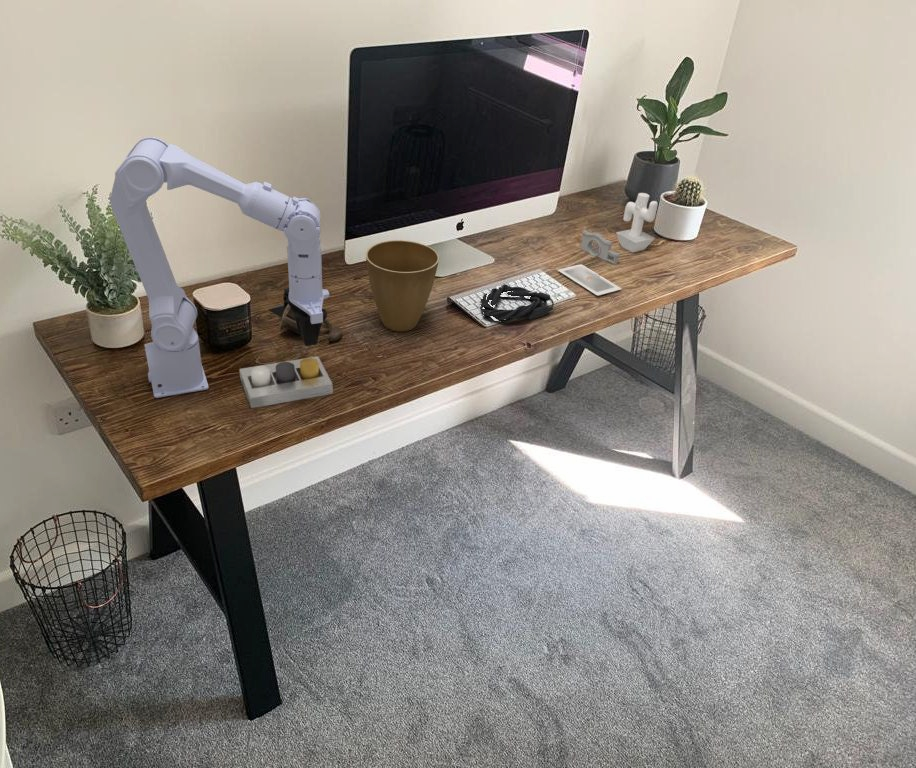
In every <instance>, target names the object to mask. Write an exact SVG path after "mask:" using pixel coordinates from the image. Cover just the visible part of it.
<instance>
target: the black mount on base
mask: <svg viewBox="0 0 916 768" xmlns="http://www.w3.org/2000/svg"><path fill="white" fill-rule="evenodd" d="M283 291H284V293H283V294H282V296H283V298H282V299H283V303H281V304H279V305H276V306H273V307H270V308H269V309H267V310H268V311H269V312H271V313H273V314H275V315H276V316H278V317H280V318H281V319H282V314H283V311H284V310H285V308H286V306H287V304H288V302H287V298H289V296H288V295H289V287H287V288H285V289H283Z"/></svg>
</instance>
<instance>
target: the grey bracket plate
mask: <svg viewBox="0 0 916 768" xmlns="http://www.w3.org/2000/svg"><path fill="white" fill-rule="evenodd" d="M581 234H582V239H581V244H580V250H582V251H583V252H586V253H588V254H589V255H590V256H593V257H597V258H599V259H601V260H603V261H605V262H608V263H610V264H612V265H614V266H615V265H618V262H619V258H620V257H619V256H621V253H618V252H616V251H614V250H613V249H612V245H613V243H614V242H612V241H610V240H607V239H606V238H605V237H604V236H603V234H601V233H600V232H589V231H587V230H585V229H583V230H582V231H581Z"/></svg>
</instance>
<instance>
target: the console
mask: <svg viewBox="0 0 916 768" xmlns="http://www.w3.org/2000/svg"><path fill="white" fill-rule="evenodd" d="M309 358H314V359H316V360H317V361H318V365H319V377H317V378H311V379H305V380H302V379H301V377H300V361H301V360H303V359H305V357H304V358H300V359H293V360H287V361H285V362H290V363H292V364H294V367H295V381H294V382H288V383H282V384H278V383H277V380H276V365H277V364H279V363H281V362H282V361H281V362H273V363H268V364H262V365H260V366H266V367H268V368H269V369H270V377H271V385H270V386H265V387H259V388H253V387H252V379H251V370H252V368H254V367H257V366H258V365H256V366H249V367H243V368H239V377H240V378H239V379H240V381H241V386H242V388H243V389H244V392H245V395H246V397H247V400H248V403H249V406H250V408H251V409H254V408H261V407H267V406H273V405H278V404H283V403H288V402H293V401H299V400H300V401H301V400H306V399H311V398H316V397H321V396H323V397H324V396H327V395H333V394H334V393H333V392H334V390H333V389H334V386H333V385H334V384H333V382H332V379H331V378H330V377H329V374H328V372H327V371H326V369H325V366H324V365H323V363H322V361H321V359H320V357H319V356H312V357H311V356H310V357H309Z"/></svg>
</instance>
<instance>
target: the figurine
mask: <svg viewBox="0 0 916 768" xmlns="http://www.w3.org/2000/svg"><path fill="white" fill-rule="evenodd" d="M649 199H650V195H649V194H648V193H646V192H638V194H637V197H636V200H635V202H633V201H628V202H627V203H626V204H625V208H624V213H623V221H624V222H630V221H632V223H631V228H630V229H626V230H625V229H624V230H621V231H617V232H615V234H616V236H617V237H616V238H617V239H618V241H619V245H620V247H621V248H623V249H625V250H627V251H628V252H631V253H637V252H641V251H645V250H646V249H647V247H648V246H649V245H651V243H652V242H653V241H654V240H655V237H654V236H652V235H650V234H648V233H647V232H644V231H643V227H644V221H646V222H648V223H651V222H653V221H654V220H655V218H656V214H657V209H658V206H659V205H658V201H657V200H652V201H651V202H649ZM648 203H649V205H648Z"/></svg>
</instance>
